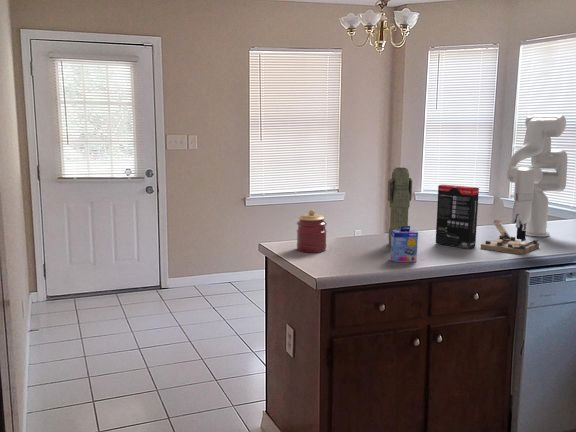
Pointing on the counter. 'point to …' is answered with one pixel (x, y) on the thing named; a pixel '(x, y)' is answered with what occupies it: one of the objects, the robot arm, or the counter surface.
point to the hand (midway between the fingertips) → (520, 239)
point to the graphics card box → (457, 216)
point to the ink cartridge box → (404, 245)
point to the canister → (311, 233)
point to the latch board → (509, 245)
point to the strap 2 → (522, 243)
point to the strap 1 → (502, 229)
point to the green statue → (399, 199)
